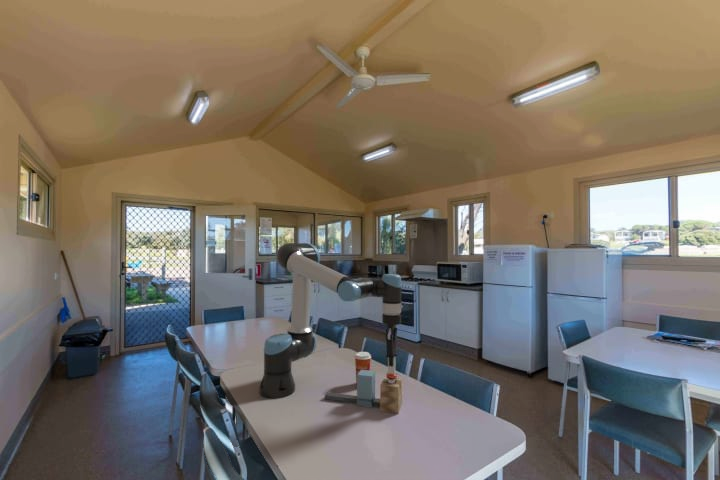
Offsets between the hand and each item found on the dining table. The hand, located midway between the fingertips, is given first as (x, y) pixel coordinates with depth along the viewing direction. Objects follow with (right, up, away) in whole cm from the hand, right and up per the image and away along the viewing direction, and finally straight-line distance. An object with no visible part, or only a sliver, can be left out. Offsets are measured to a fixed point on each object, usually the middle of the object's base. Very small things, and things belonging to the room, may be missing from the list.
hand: (391, 373), depth 133 cm
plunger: (0, -7, 0) cm, 7 cm away
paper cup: (-11, -14, +21) cm, 28 cm away
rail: (-15, -13, +4) cm, 20 cm away
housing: (0, -13, 0) cm, 13 cm away
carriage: (-10, -13, +2) cm, 17 cm away
